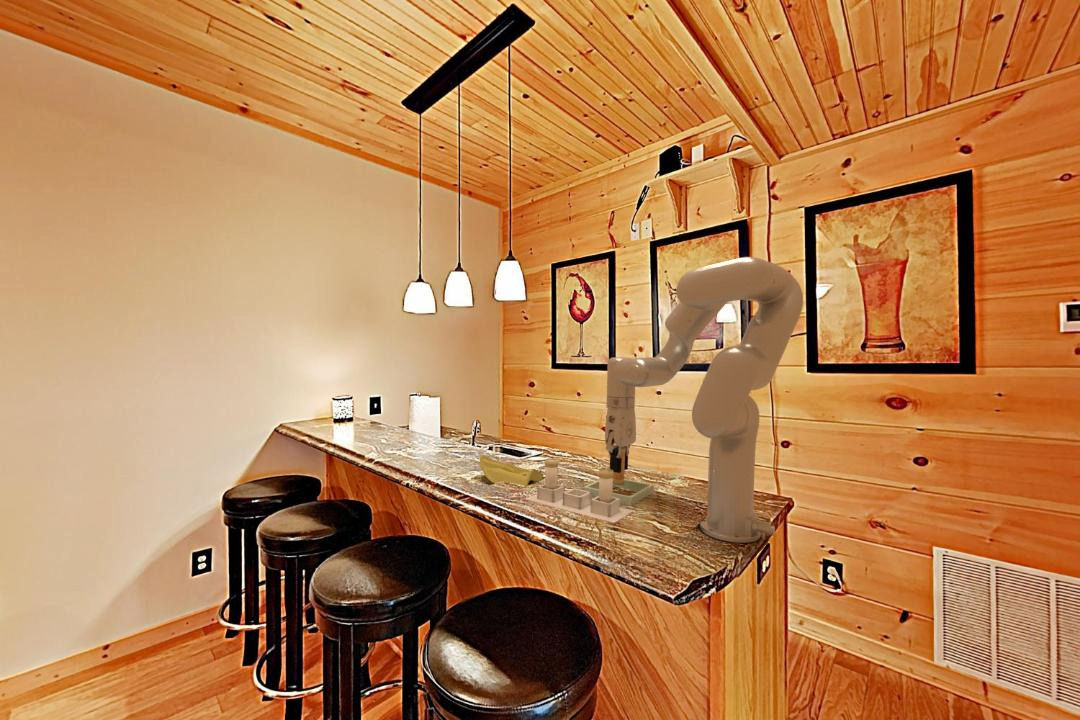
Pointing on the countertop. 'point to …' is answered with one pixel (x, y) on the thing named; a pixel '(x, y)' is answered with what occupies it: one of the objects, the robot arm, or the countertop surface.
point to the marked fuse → (619, 477)
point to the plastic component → (508, 472)
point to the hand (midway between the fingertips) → (618, 469)
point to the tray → (641, 487)
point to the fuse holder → (580, 503)
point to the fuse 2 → (605, 485)
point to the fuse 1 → (551, 473)
